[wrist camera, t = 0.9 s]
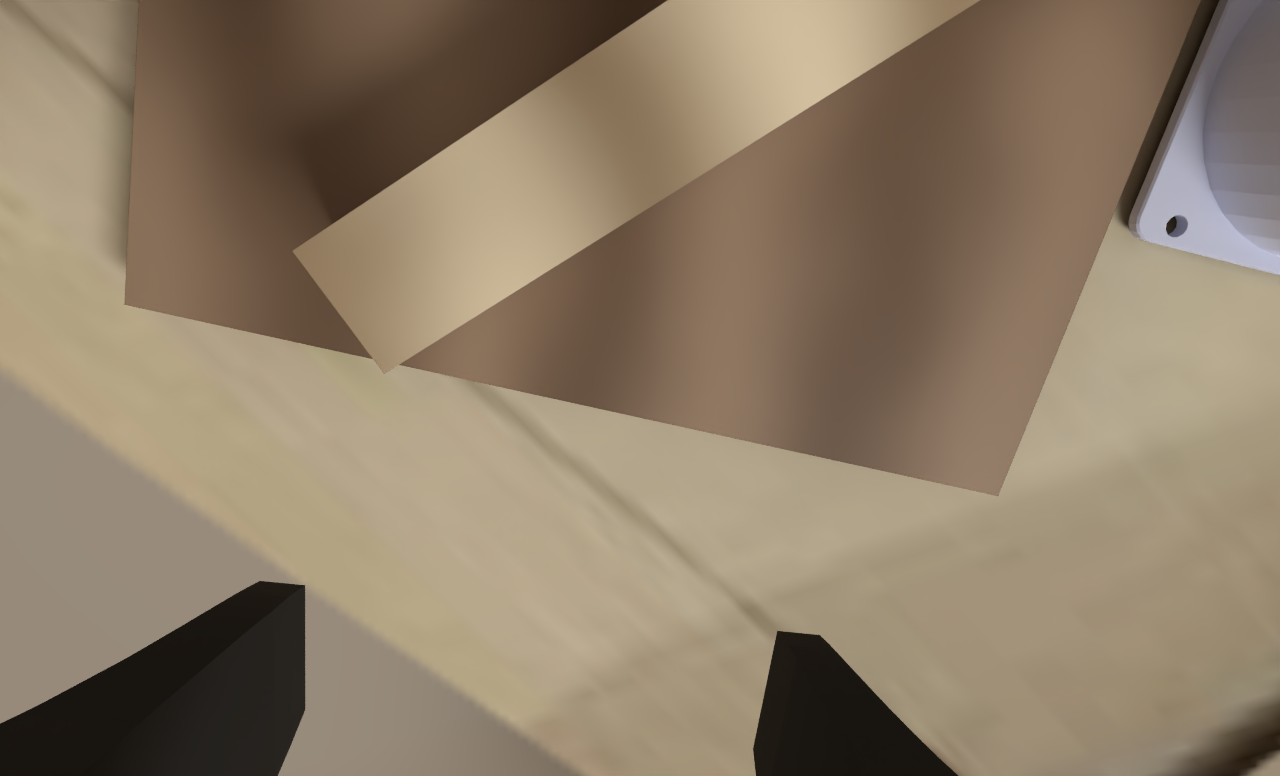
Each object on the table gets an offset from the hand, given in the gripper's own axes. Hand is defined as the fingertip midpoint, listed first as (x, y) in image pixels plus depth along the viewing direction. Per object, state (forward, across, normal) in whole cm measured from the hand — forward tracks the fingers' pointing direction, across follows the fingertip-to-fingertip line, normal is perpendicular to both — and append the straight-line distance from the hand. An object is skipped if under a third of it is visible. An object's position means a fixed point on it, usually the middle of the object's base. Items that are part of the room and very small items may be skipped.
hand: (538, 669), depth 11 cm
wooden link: (+9, -2, -9) cm, 12 cm away
